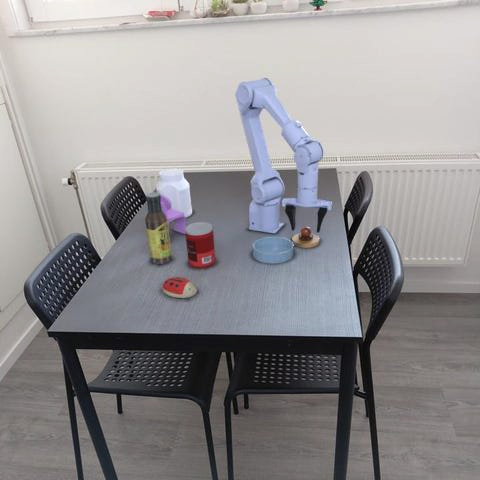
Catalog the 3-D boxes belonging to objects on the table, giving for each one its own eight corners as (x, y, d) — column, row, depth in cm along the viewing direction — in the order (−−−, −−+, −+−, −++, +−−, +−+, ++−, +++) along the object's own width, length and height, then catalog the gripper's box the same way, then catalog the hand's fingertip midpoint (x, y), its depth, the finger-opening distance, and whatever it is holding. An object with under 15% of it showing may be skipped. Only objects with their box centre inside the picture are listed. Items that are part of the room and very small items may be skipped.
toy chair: (190, 234, 156) (185, 189, 148) (169, 243, 151) (163, 197, 143) (173, 228, 161) (167, 184, 153) (152, 237, 156) (145, 191, 148)
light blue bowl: (246, 259, 140) (245, 250, 138) (262, 243, 149) (262, 234, 147) (284, 266, 135) (284, 256, 134) (299, 249, 144) (299, 240, 142)
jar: (157, 218, 169) (150, 176, 161) (163, 208, 177) (158, 167, 169) (189, 218, 168) (184, 176, 159) (194, 208, 176) (190, 167, 167)
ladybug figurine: (190, 302, 122) (189, 289, 120) (156, 296, 125) (154, 284, 123) (201, 289, 127) (200, 277, 125) (169, 283, 130) (167, 272, 128)
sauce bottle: (167, 266, 139) (157, 199, 127) (147, 264, 140) (136, 198, 129) (176, 256, 144) (167, 191, 132) (157, 254, 145) (147, 190, 134)
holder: (287, 245, 147) (287, 238, 145) (297, 234, 153) (297, 228, 152) (314, 249, 143) (314, 242, 142) (322, 238, 150) (323, 231, 148)
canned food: (219, 258, 141) (216, 223, 135) (209, 270, 135) (206, 234, 129) (195, 255, 144) (192, 220, 138) (184, 267, 137) (180, 231, 131)
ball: (302, 239, 146) (303, 229, 144) (298, 235, 148) (299, 225, 146) (312, 238, 146) (313, 228, 144) (308, 234, 149) (309, 224, 147)
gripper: (334, 183, 140) (331, 227, 147) (286, 180, 144) (285, 223, 151) (331, 191, 134) (328, 236, 142) (280, 188, 138) (280, 232, 146)
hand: (305, 230), depth 146 cm, fingers open, 7 cm apart
